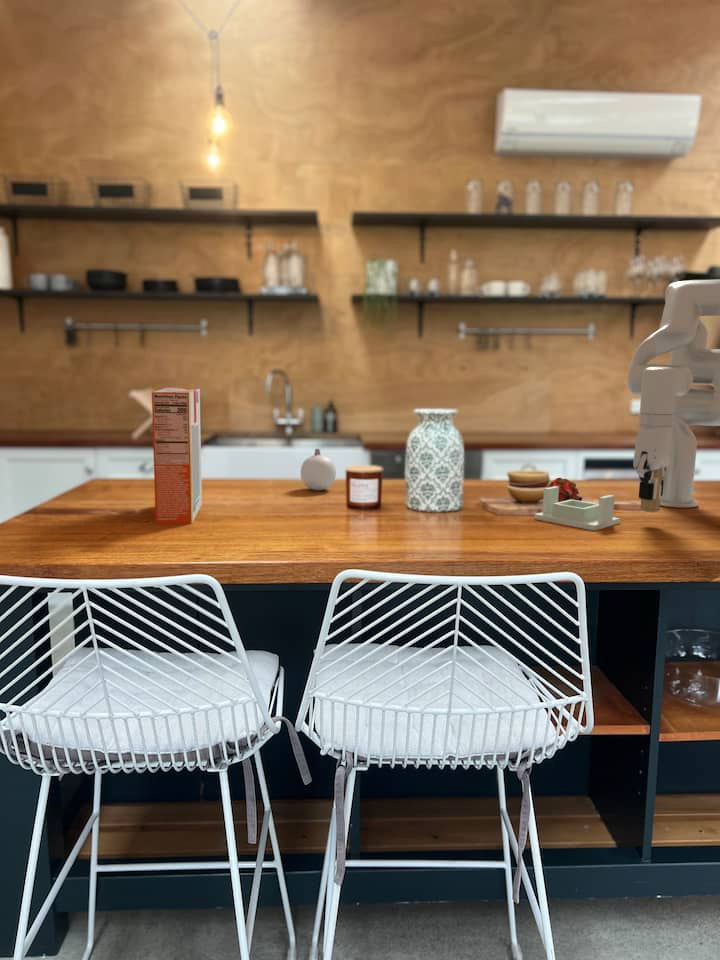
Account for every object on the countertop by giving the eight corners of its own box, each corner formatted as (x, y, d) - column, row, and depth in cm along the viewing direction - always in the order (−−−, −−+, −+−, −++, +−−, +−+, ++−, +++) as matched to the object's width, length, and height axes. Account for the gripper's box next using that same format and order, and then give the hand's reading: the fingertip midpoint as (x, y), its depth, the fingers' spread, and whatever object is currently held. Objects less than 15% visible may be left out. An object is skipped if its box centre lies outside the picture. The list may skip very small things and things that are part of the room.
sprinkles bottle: (663, 511, 172) (668, 455, 169) (652, 513, 170) (656, 457, 167) (647, 507, 176) (651, 452, 173) (635, 509, 173) (639, 454, 171)
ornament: (304, 486, 218) (304, 446, 216) (338, 487, 216) (338, 447, 214) (297, 492, 208) (297, 450, 206) (332, 493, 206) (332, 452, 204)
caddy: (560, 512, 186) (562, 484, 185) (619, 523, 175) (621, 493, 174) (534, 518, 178) (536, 490, 177) (594, 530, 167) (596, 500, 166)
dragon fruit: (557, 508, 200) (569, 524, 188) (534, 490, 198) (544, 505, 187) (578, 484, 198) (591, 499, 186) (555, 466, 196) (567, 480, 185)
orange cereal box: (170, 504, 188) (167, 387, 183) (201, 503, 189) (199, 388, 184) (155, 524, 166) (151, 392, 161) (191, 523, 167) (188, 392, 162)
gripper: (656, 416, 177) (651, 489, 180) (623, 422, 165) (618, 500, 169) (687, 418, 171) (681, 494, 175) (656, 425, 160) (650, 506, 164)
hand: (650, 496), depth 172 cm, fingers closed on sprinkles bottle, 4 cm apart
